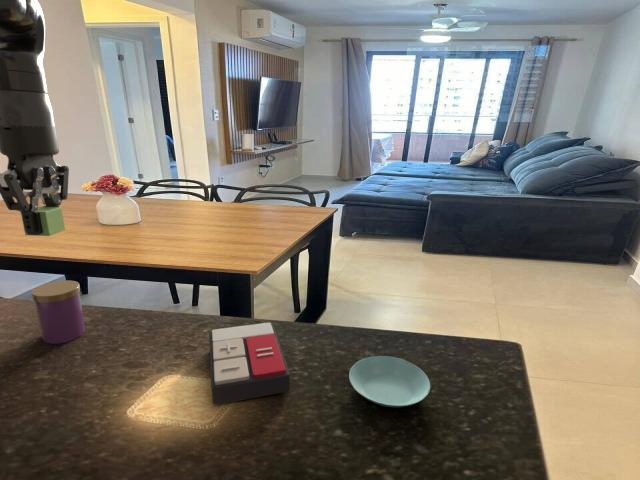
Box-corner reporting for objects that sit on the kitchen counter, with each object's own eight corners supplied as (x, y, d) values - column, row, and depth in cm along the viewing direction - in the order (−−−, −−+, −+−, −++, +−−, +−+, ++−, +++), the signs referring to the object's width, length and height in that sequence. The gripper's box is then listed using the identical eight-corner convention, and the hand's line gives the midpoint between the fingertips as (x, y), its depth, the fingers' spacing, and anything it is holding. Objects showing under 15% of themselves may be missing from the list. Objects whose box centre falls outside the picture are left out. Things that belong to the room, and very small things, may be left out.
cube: (25, 235, 62) (20, 211, 61) (42, 229, 66) (38, 206, 65) (49, 236, 62) (45, 212, 61) (65, 229, 66) (61, 207, 65)
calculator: (210, 383, 51) (208, 326, 65) (212, 409, 53) (210, 348, 66) (290, 370, 54) (272, 318, 68) (290, 395, 56) (273, 339, 69)
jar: (35, 335, 69) (25, 288, 67) (77, 321, 74) (70, 277, 72) (49, 349, 65) (39, 300, 62) (93, 333, 70) (85, 287, 68)
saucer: (342, 368, 62) (343, 356, 61) (413, 366, 63) (414, 353, 63) (356, 421, 51) (357, 407, 50) (441, 417, 52) (443, 403, 51)
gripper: (34, 123, 66) (51, 220, 70) (-41, 122, 52) (-14, 242, 57) (78, 124, 66) (92, 221, 70) (13, 123, 52) (36, 243, 57)
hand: (45, 230), depth 64 cm, fingers closed on cube, 4 cm apart
